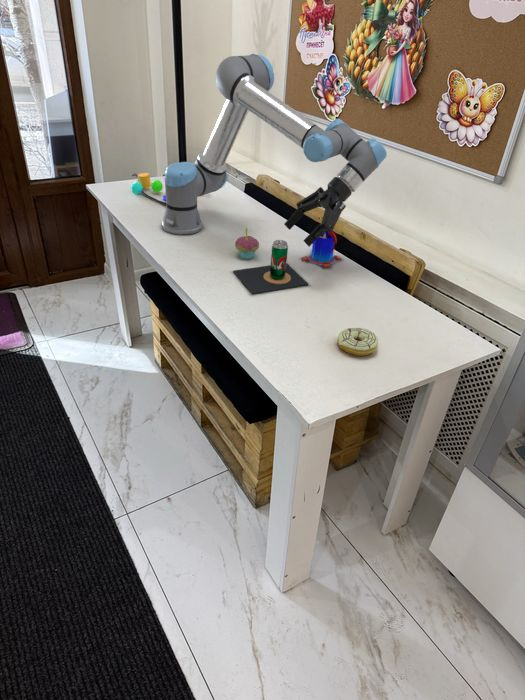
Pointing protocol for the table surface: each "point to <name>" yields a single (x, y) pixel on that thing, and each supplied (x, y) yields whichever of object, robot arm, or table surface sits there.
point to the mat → (268, 279)
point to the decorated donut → (357, 341)
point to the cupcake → (247, 246)
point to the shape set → (146, 184)
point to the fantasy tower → (323, 250)
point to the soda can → (278, 259)
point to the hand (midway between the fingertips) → (296, 235)
